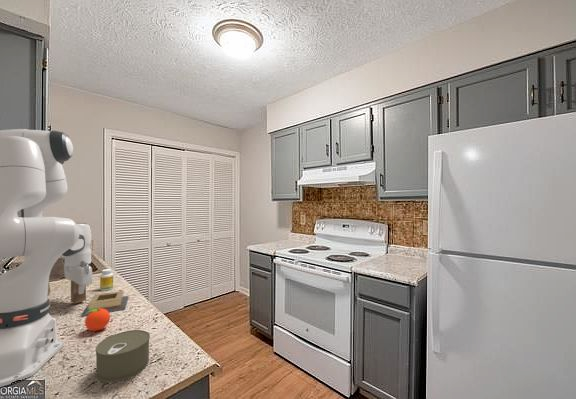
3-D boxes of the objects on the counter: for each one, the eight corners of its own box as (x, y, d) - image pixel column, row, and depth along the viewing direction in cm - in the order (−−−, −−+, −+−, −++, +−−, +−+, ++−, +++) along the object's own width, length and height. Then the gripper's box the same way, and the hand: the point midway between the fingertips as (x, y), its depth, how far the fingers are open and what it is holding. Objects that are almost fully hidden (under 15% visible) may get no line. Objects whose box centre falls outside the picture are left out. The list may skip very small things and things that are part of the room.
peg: (85, 300, 111) (85, 279, 111) (74, 303, 107) (74, 281, 107) (82, 298, 113) (82, 278, 113) (70, 301, 110) (70, 280, 110)
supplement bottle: (99, 288, 128) (99, 269, 128) (112, 286, 132) (112, 267, 132) (100, 291, 124) (100, 271, 124) (113, 289, 128) (113, 270, 128)
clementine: (76, 336, 83) (76, 314, 83) (87, 326, 89) (87, 306, 89) (105, 333, 85) (105, 311, 85) (113, 323, 91) (113, 303, 91)
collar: (125, 309, 104) (125, 299, 104) (81, 316, 97) (81, 305, 97) (128, 297, 116) (128, 289, 116) (90, 303, 110) (90, 294, 110)
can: (157, 353, 74) (157, 329, 74) (134, 382, 62) (134, 354, 62) (115, 354, 73) (115, 330, 73) (82, 384, 61) (83, 355, 61)
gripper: (97, 261, 107) (97, 294, 107) (78, 256, 118) (78, 286, 118) (78, 264, 102) (78, 299, 102) (60, 258, 113) (60, 290, 113)
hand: (78, 292), depth 110 cm, fingers closed on peg, 4 cm apart
